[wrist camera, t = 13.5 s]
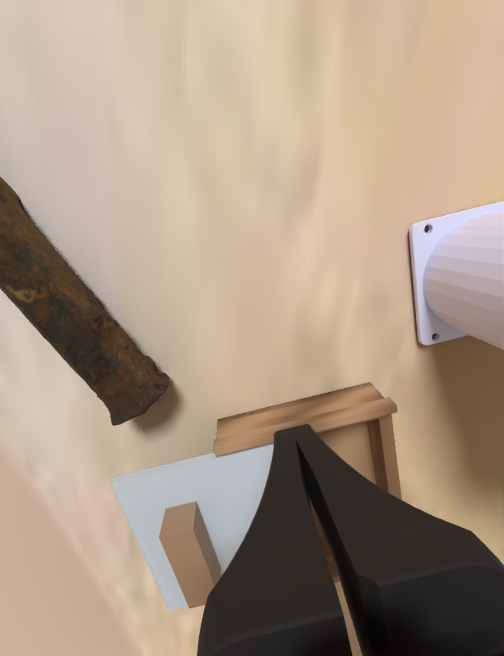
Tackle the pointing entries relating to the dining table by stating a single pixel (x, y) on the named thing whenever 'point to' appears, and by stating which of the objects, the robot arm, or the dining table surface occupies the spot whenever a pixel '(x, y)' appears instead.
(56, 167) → the dining table surface
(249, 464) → the lid
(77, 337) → the dark brown wooden log
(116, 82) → the dining table surface
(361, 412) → the wooden tray
